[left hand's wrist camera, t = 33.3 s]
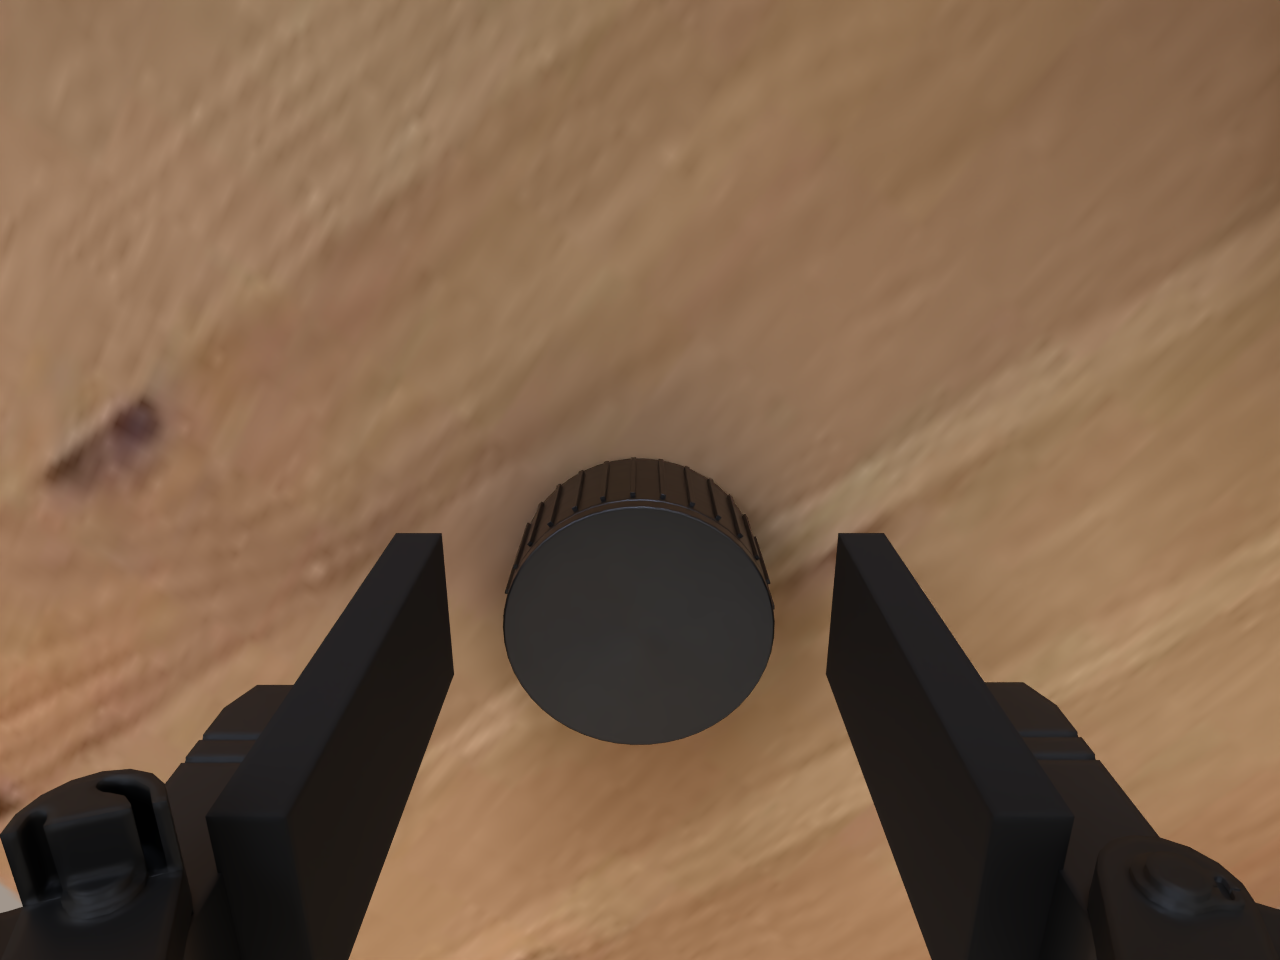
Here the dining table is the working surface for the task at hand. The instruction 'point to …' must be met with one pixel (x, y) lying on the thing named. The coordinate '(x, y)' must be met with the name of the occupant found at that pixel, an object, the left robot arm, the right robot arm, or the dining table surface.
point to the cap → (638, 604)
